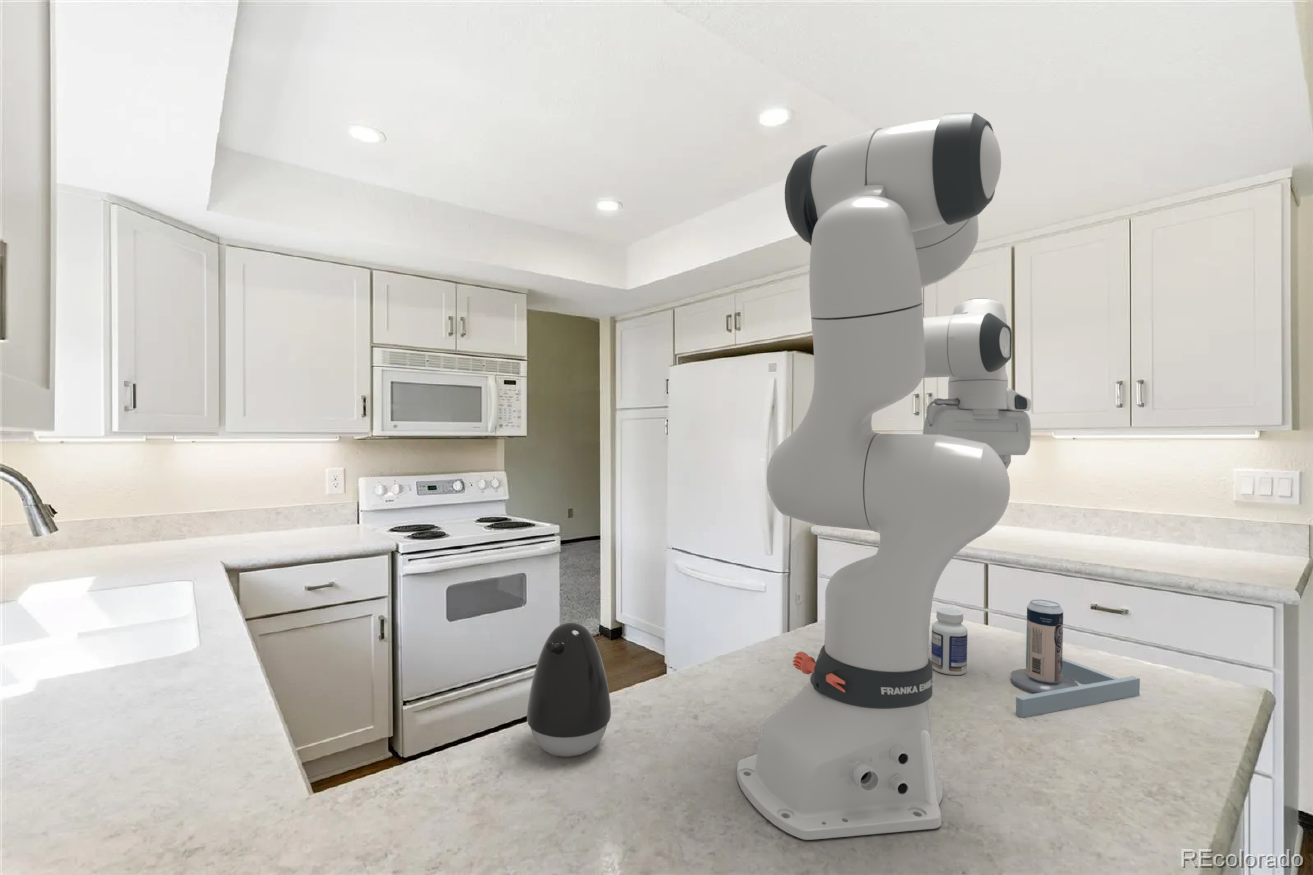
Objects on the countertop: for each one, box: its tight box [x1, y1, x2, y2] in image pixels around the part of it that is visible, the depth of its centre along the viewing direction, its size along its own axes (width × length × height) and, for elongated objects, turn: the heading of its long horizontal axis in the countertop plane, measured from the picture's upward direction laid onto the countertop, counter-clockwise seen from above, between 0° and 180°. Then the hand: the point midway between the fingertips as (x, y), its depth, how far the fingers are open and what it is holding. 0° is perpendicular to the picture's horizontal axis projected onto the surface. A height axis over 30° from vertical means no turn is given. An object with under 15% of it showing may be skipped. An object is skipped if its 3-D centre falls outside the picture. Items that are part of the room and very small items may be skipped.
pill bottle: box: [930, 607, 968, 676], centre depth 103 cm, size 5×5×10 cm
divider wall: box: [1015, 657, 1141, 719], centre depth 97 cm, size 24×14×2 cm, turn 110°
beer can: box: [1025, 599, 1064, 684], centre depth 97 cm, size 5×5×12 cm
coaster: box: [1010, 668, 1079, 694], centre depth 97 cm, size 9×9×1 cm
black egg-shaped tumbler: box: [526, 622, 612, 758], centre depth 77 cm, size 10×10×15 cm
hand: (975, 482), depth 104 cm, fingers open, 8 cm apart
